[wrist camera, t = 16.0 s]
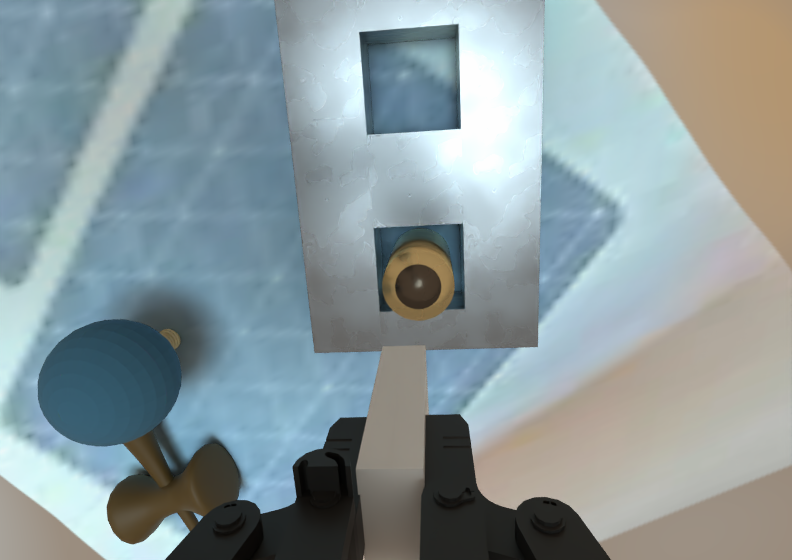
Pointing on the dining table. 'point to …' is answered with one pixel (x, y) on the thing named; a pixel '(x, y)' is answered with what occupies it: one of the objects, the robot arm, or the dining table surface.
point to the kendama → (170, 489)
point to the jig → (417, 168)
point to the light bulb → (110, 382)
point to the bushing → (419, 275)
